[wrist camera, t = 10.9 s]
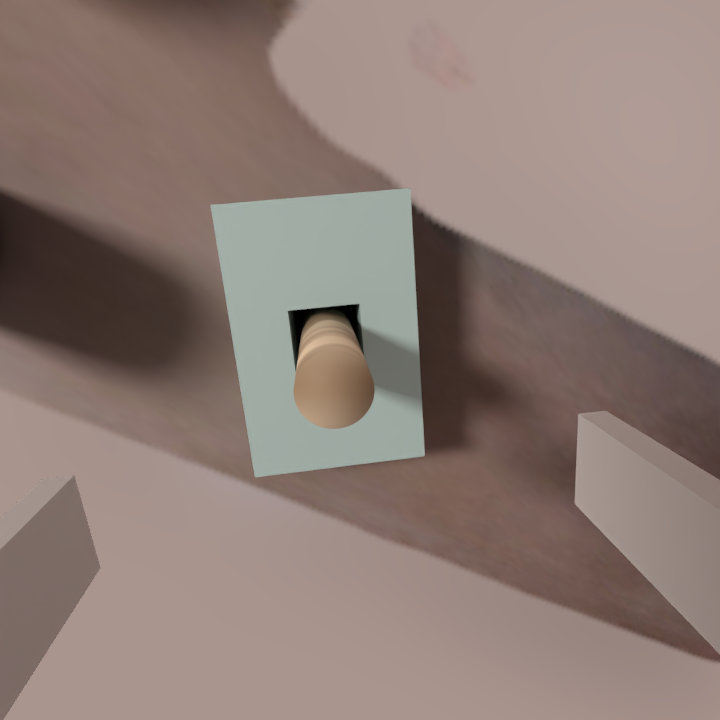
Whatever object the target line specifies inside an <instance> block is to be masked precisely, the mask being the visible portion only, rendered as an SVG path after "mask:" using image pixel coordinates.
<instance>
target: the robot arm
mask: <svg viewBox="0 0 720 720" xmlns="http://www.w3.org/2000/svg"><path fill="white" fill-rule="evenodd" d="M575 505H576V506H577V507H578V508H579V509H580V510H581V511H582V512H583V513H584V514H585V515H586V516H587V517H588V518H589V519H590V520H591V521H592V522H593V523H594V524H595V525H596V526H597V527H598V529H599V530H600V531H601V532H602V533H603V534H604V535H605V536H606V537H607V538H608V539H609V540H610V541H611V542H612V543H613V544H614V545H615V546H616V547H617V548H618V549H619V550H620V551H621V552H622V553H623V554H624V555H625V557H626V558H627V559H628V560H629V561H630V562H631V563H632V564H633V565H634V566H635V567H636V568H637V569H638V570H639V571H640V572H641V573H642V574H643V575H644V576H645V577H646V578H647V579H648V580H649V581H650V582H651V583H652V584H653V586H654V587H655V588H656V589H657V590H658V591H659V592H660V593H661V594H662V595H663V596H664V597H665V598H666V599H667V600H668V601H669V602H670V603H671V604H672V605H673V606H674V607H675V608H676V609H677V610H678V611H679V612H680V614H681V615H682V616H683V617H684V618H685V619H686V620H687V621H688V622H689V623H690V624H691V625H692V626H693V627H694V628H695V629H696V630H697V631H698V632H699V633H700V634H701V635H702V636H703V637H704V638H705V639H706V640H707V641H708V643H709V644H710V645H711V646H712V647H713V648H714V649H715V650H716V651H717V652H718V653H719V654H720V480H719V479H717V478H716V477H714V476H712V475H711V474H709V473H707V472H706V471H704V470H703V469H701V468H699V467H698V466H696V465H694V464H693V463H691V462H689V461H688V460H686V459H684V458H683V457H681V456H679V455H678V454H676V453H675V452H673V451H671V450H670V449H668V448H666V447H665V446H663V445H661V444H660V443H658V442H656V441H655V440H653V439H651V438H650V437H648V436H647V435H645V434H643V433H642V432H640V431H638V430H637V429H635V428H633V427H632V426H630V425H628V424H627V423H625V422H623V421H622V420H620V419H619V418H617V417H615V416H614V415H612V414H610V413H609V412H607V411H599V412H591V413H582V414H578V436H577V459H576V482H575ZM99 569H100V565H99V561H98V558H97V554H96V551H95V547H94V544H93V540H92V536H91V533H90V529H89V526H88V522H87V519H86V516H85V512H84V508H83V504H82V501H81V497H80V494H79V491H78V487H77V483H76V480H75V476H74V475H72V476H63V477H55V478H47V479H42V480H41V481H40V482H39V483H37V484H36V485H35V486H34V487H33V488H32V489H31V490H30V491H29V492H27V493H26V494H25V495H24V496H23V497H22V498H21V499H20V500H19V501H18V502H16V503H15V504H14V505H13V506H12V507H11V508H10V509H9V510H8V511H6V512H5V513H4V514H3V515H2V516H1V517H0V720H3V719H4V718H5V716H6V714H7V713H8V711H9V710H10V708H11V707H12V705H13V704H14V702H15V700H16V699H17V697H18V696H19V694H20V693H21V691H22V690H23V688H24V686H25V685H26V683H27V682H28V680H29V679H30V677H31V675H32V674H33V672H34V671H35V669H36V668H37V666H38V665H39V663H40V661H41V660H42V658H43V657H44V655H45V654H46V652H47V650H48V649H49V647H50V645H51V644H52V643H53V641H54V639H55V638H56V636H57V635H58V633H59V632H60V630H61V629H62V627H63V625H64V624H65V622H66V621H67V619H68V618H69V616H70V614H71V613H72V611H73V610H74V608H75V607H76V605H77V604H78V602H79V600H80V599H81V597H82V596H83V594H84V593H85V591H86V589H87V588H88V586H89V585H90V583H91V582H92V580H93V578H94V577H95V575H96V574H97V572H98V571H99Z"/></svg>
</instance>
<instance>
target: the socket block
mask: <svg viewBox="0 0 720 720" xmlns="http://www.w3.org/2000/svg"><path fill="white" fill-rule="evenodd" d="M211 211H212V217H213V223H214V229H215V236H216V242H217V248H218V254H219V260H220V266H221V272H222V278H223V285H224V291H225V297H226V303H227V309H228V315H229V321H230V327H231V334H232V340H233V346H234V352H235V358H236V364H237V370H238V376H239V383H240V389H241V395H242V401H243V407H244V413H245V419H246V425H247V432H248V438H249V444H250V450H251V456H252V462H253V468H254V474H255V477H261V476H269V475H277V474H285V473H293V472H301V471H309V470H317V469H325V468H333V467H341V466H350V465H358V464H366V463H374V462H382V461H390V460H398V459H406V458H414V457H422V456H425V449H424V430H423V412H422V393H421V375H420V356H419V338H418V319H417V301H416V282H415V264H414V245H413V227H412V208H411V190H410V188H408V189H396V190H384V191H373V192H361V193H349V194H337V195H325V196H313V197H301V198H289V199H277V200H265V201H253V202H241V203H229V204H217V205H211ZM351 304H353V306H354V317H355V328H356V338H357V340H358V343H359V345H360V348H361V350H362V353H363V355H364V358H365V360H366V363H367V365H368V368H369V370H370V373H371V375H372V378H373V381H374V387H375V392H374V399H373V402H372V405H371V407H370V408H369V410H368V412H367V413H366V414H365V415H364V416H363V417H362V418H361V419H360V420H359V421H358V422H356V423H354V424H352V425H350V426H348V427H344V428H339V429H327V428H322V427H319V426H317V425H315V424H313V423H311V422H310V421H308V420H307V419H306V418H305V417H304V416H303V415H302V414H301V412H300V411H299V409H298V407H297V406H296V403H295V399H294V382H295V375H296V368H297V361H298V354H299V349H298V341H297V333H296V325H295V317H294V310H301V309H311V308H321V307H331V306H341V305H351Z"/></svg>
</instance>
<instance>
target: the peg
mask: <svg viewBox="0 0 720 720" xmlns="http://www.w3.org/2000/svg"><path fill="white" fill-rule="evenodd" d="M374 392H375V387H374V381H373V378H372V375H371V373H370V370H369V368H368V365H367V363H366V360H365V358H364V355H363V353H362V350H361V348H360V345H359V343H358V340H357V338H356V336H355V333H354V331H353V328H352V326H351V323H350V321H349V318H348V316H347V314H346V312H345V311H344V310H343V309H342V308H341V307H340V306H331V307H321V308H311V309H309V310H308V312H307V313H306V315H305V317H304V321H303V327H302V334H301V341H300V348H299V354H298V361H297V368H296V375H295V382H294V399H295V403H296V406H297V407H298V409H299V411H300V412H301V414H302V415H303V416H304V417H305V418H306V419H307V420H308V421H310V422H311V423H313V424H315V425H317V426H319V427H322V428H327V429H339V428H344V427H348V426H350V425H352V424H354V423H356V422H358V421H359V420H360V419H361V418H362V417H363V416H364V415H365V414H366V413H367V412H368V410H369V408H370V407H371V405H372V402H373V399H374Z"/></svg>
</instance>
